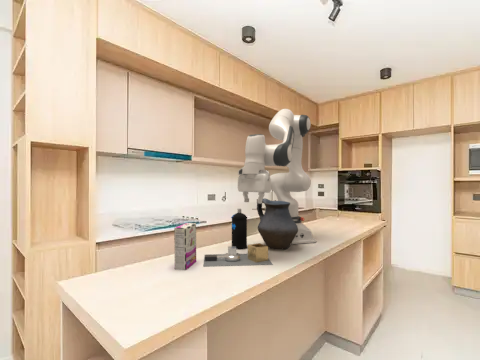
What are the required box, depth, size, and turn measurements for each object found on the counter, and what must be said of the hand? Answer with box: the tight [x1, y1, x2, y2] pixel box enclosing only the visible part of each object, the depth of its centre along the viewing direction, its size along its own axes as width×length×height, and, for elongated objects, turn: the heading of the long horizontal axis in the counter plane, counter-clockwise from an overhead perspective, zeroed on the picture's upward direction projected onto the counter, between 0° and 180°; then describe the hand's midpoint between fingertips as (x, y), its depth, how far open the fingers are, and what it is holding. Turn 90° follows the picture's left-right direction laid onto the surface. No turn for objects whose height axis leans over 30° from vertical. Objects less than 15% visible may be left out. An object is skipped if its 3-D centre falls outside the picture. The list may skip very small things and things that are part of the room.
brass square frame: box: [247, 242, 269, 263], centre depth 112 cm, size 6×6×6 cm
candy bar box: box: [173, 222, 197, 271], centre depth 104 cm, size 11×5×16 cm, turn 168°
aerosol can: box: [230, 208, 248, 251], centre depth 132 cm, size 8×8×20 cm
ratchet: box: [204, 245, 241, 262], centre depth 111 cm, size 15×7×5 cm, turn 96°
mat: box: [202, 253, 274, 268], centre depth 112 cm, size 28×17×1 cm, turn 96°
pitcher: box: [256, 197, 298, 251], centre depth 134 cm, size 21×22×25 cm
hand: (252, 202), depth 112 cm, fingers open, 8 cm apart
